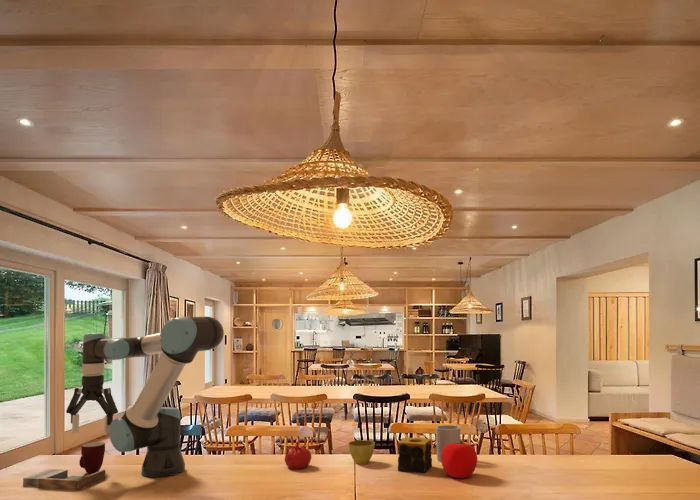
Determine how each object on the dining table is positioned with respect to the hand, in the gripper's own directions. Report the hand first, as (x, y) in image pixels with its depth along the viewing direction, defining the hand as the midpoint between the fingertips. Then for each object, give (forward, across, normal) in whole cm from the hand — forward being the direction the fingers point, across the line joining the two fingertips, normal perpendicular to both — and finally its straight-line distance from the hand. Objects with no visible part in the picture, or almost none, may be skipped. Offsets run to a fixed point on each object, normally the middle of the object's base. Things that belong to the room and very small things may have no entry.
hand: (91, 433), depth 218 cm
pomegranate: (+14, -73, -20) cm, 77 cm away
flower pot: (+14, -95, -30) cm, 101 cm away
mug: (+14, 0, 0) cm, 14 cm away
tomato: (+13, -132, -17) cm, 134 cm away
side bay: (+14, +1, +12) cm, 19 cm away
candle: (+14, -116, -24) cm, 120 cm away
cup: (+13, -127, -39) cm, 134 cm away
